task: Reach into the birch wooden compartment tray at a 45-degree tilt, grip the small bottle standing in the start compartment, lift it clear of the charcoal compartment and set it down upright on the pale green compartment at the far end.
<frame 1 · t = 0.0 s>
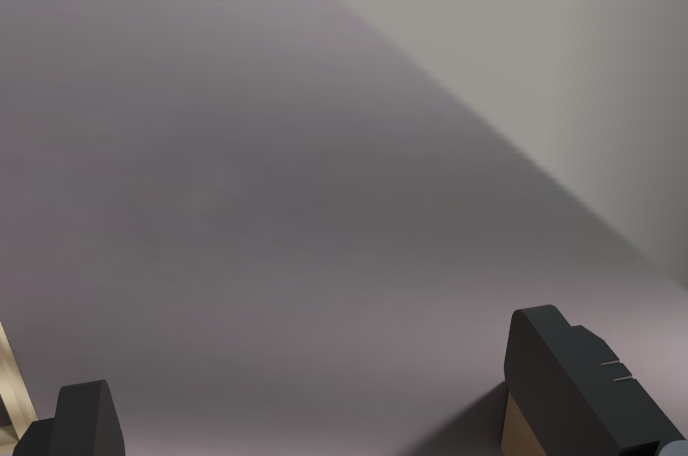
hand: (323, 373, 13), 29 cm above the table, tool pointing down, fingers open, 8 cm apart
wooden block: (550, 401, 63), on the table
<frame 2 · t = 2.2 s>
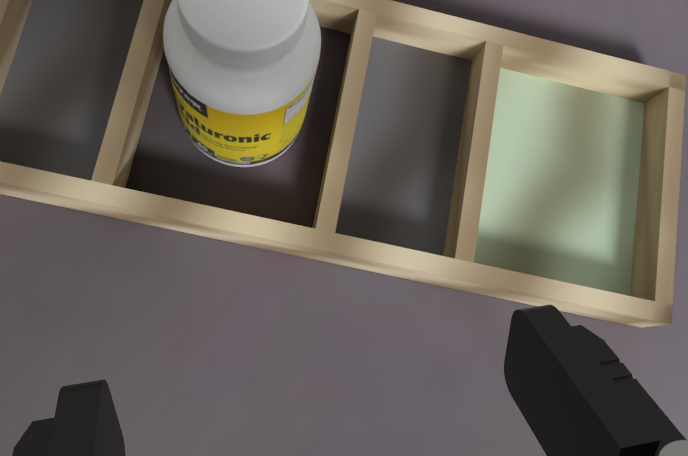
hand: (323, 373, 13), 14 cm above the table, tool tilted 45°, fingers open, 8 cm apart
supplement bottle: (243, 114, 29), resting in wooden compartment tray
wooden compartment tray: (340, 134, 29), on the table
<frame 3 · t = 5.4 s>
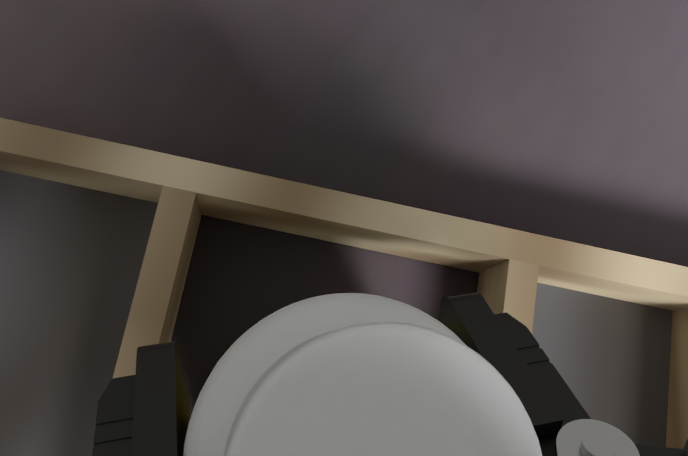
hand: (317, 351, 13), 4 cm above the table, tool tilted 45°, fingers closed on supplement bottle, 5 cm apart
supplement bottle: (309, 427, 17), resting in wooden compartment tray, touching gripper
when the fingers open (6 cm above the table, at t = 10.3 s): supplement bottle stays where it is, resting on wooden compartment tray.
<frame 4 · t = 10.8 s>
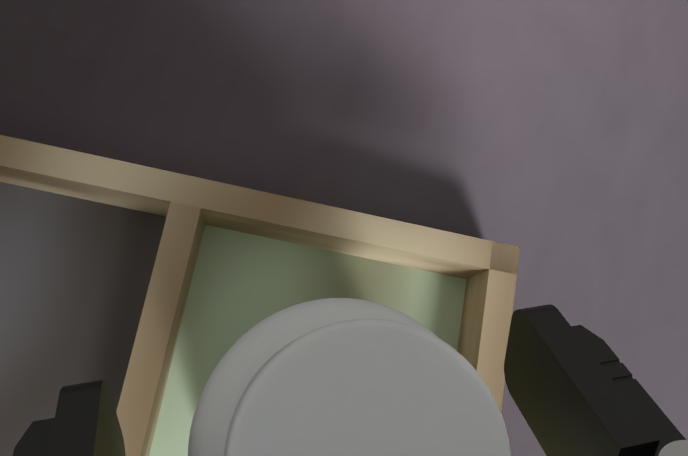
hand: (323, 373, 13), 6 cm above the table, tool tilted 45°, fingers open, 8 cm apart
supplement bottle: (303, 430, 18), resting on wooden compartment tray
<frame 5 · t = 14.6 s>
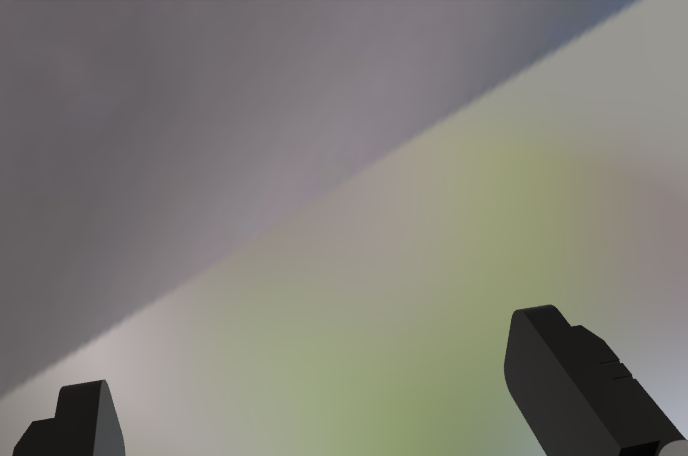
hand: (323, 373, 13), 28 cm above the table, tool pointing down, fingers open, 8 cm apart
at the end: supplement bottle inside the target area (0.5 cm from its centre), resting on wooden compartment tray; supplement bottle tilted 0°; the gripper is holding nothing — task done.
